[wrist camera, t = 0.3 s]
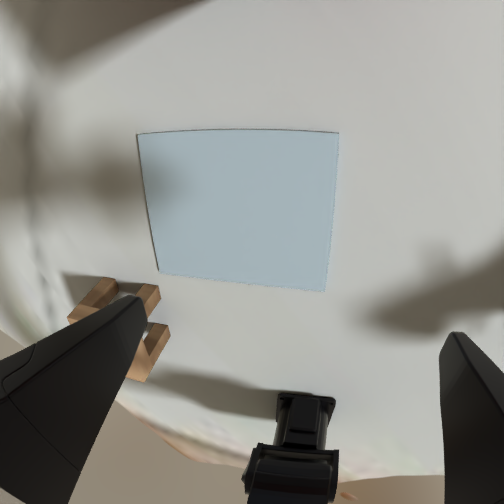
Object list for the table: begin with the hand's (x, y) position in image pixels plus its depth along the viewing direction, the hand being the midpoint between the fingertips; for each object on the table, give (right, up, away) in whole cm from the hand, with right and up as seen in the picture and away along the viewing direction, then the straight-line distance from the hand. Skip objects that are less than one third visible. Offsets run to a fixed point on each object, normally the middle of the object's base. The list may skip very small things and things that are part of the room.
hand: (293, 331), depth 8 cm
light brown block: (-13, -3, +22) cm, 26 cm away
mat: (-2, +5, +15) cm, 16 cm away
